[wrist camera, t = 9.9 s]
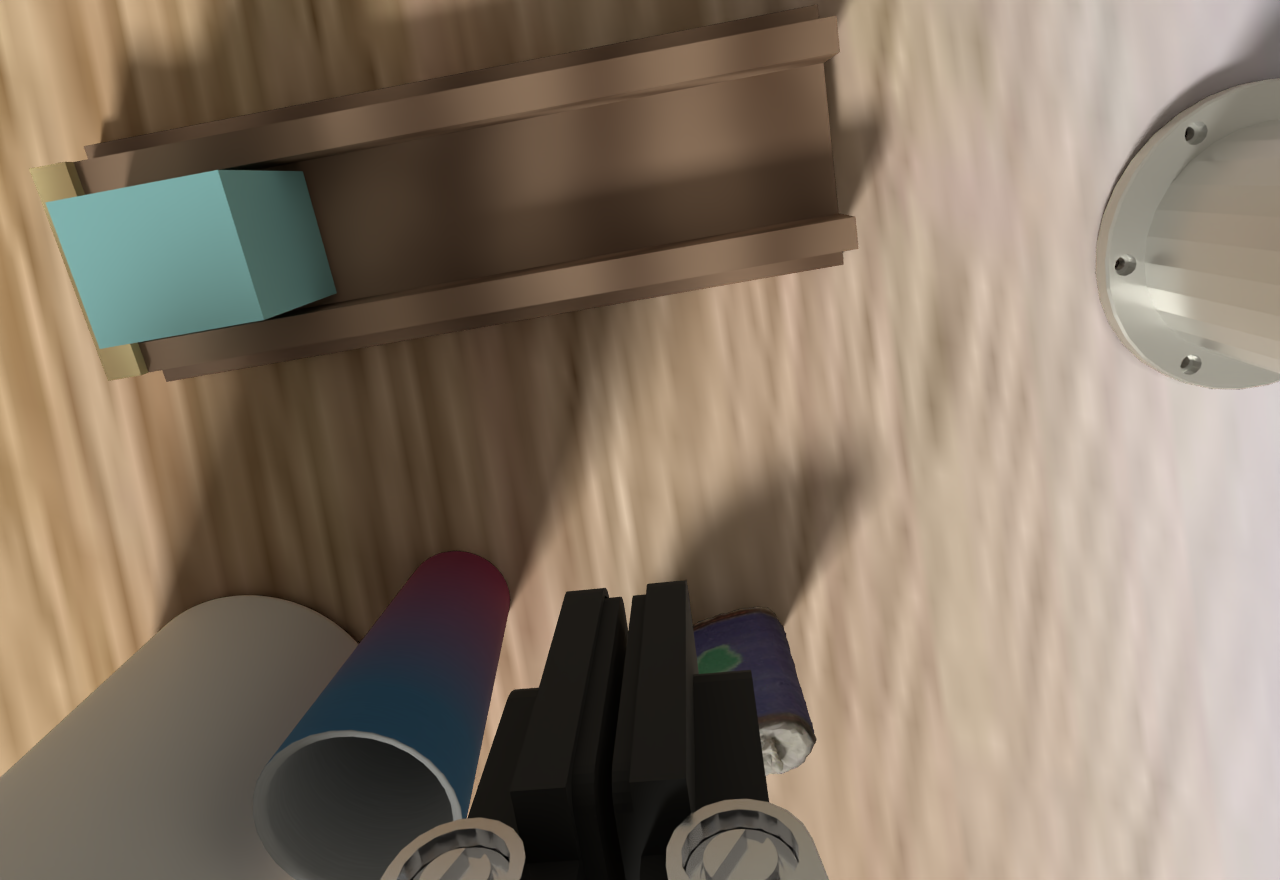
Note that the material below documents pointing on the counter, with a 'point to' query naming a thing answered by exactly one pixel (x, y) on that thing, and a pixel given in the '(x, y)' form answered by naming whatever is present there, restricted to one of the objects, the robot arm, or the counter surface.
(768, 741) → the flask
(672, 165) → the chute
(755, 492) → the counter surface
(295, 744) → the cup
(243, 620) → the cylinder vase
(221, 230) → the block
